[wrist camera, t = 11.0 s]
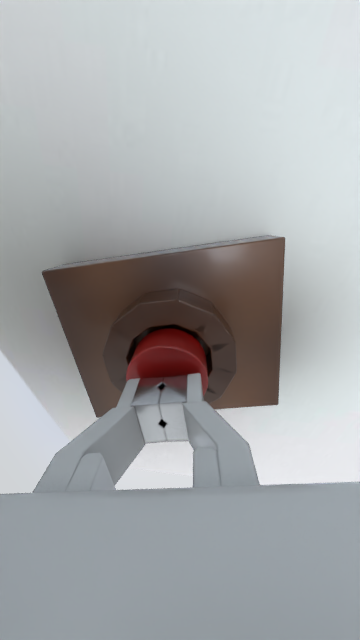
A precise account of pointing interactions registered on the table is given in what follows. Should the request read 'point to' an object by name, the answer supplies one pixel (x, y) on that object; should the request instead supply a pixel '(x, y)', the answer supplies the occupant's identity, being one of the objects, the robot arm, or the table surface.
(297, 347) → the table surface
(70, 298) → the brown button base
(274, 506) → the robot arm
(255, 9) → the table surface
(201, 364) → the button
